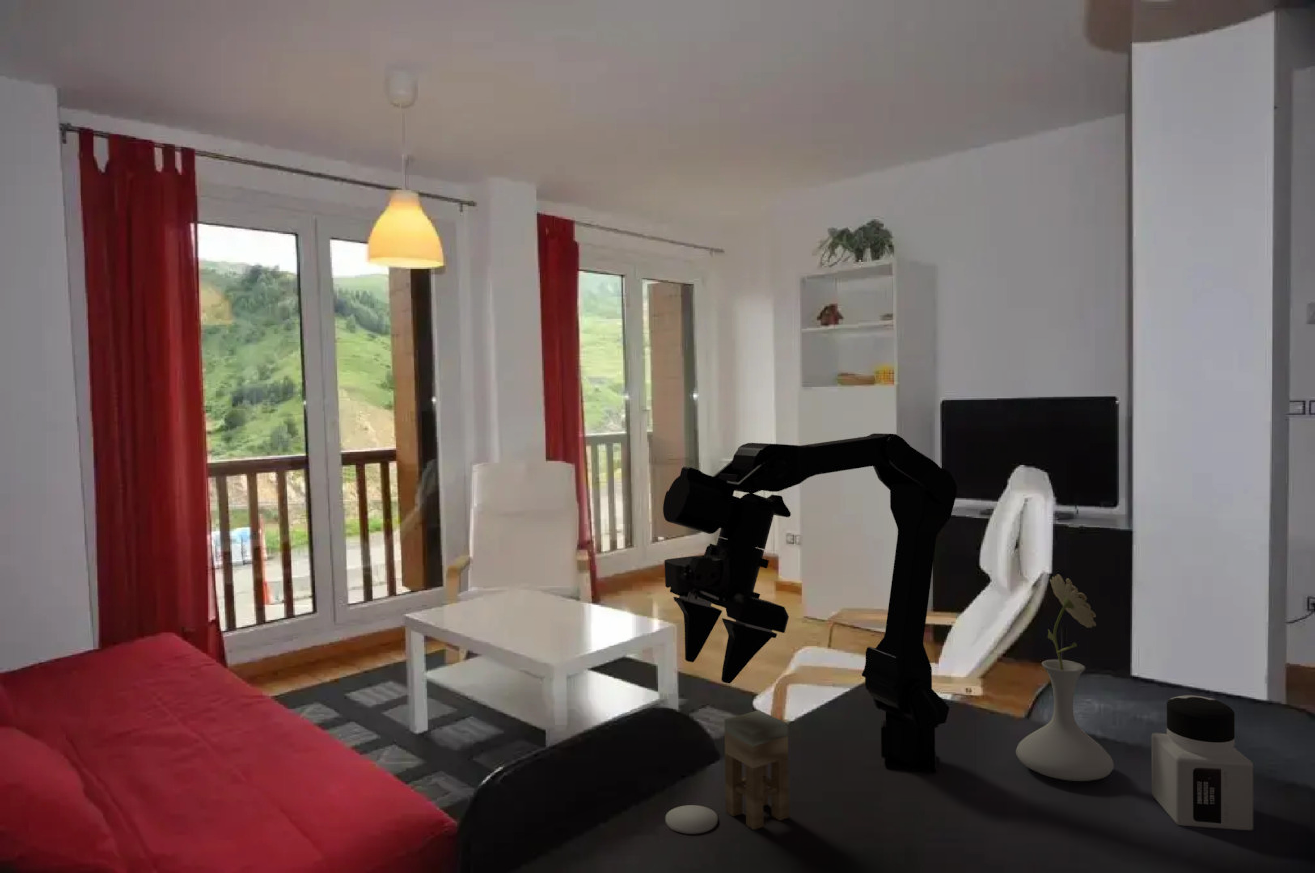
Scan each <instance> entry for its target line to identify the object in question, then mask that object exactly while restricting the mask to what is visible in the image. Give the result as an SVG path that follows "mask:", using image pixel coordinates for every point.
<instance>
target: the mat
mask: <svg viewBox="0 0 1315 873" xmlns="http://www.w3.org/2000/svg"><path fill="white" fill-rule="evenodd" d="M665 814H666V815H665V825H666V826H667V827H668V828H669V829H671V830H672V831H674V832H677V833H681V834H687V835H697V834H705V833H707V832H709V831H711V830H713V829H714V828H716V827H717V825H718V820H719V819H718V815H717V813H716V811H714V810H712V809H710V808H709V807H706V806H702V805H697V804H696V805H694V804H693V805H689V804H688V805H681V806H676V807H674V808H672V809H671V810H669V811H668V812H667V813H665Z"/></svg>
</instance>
